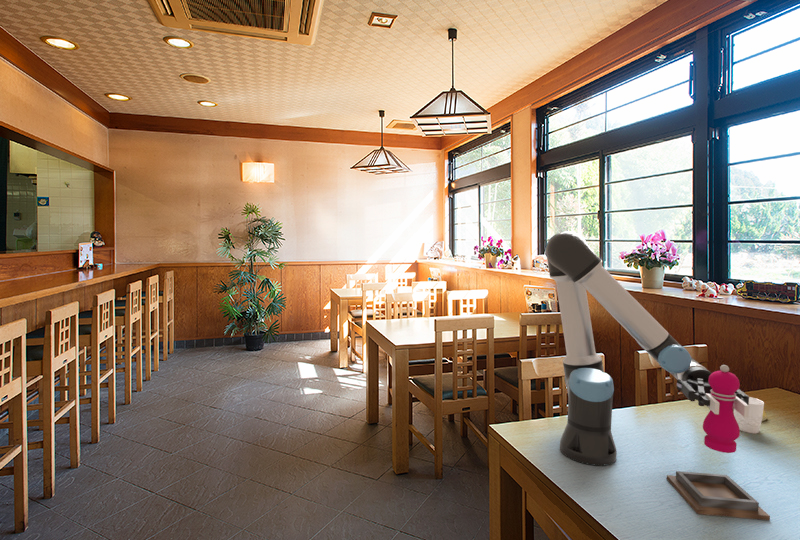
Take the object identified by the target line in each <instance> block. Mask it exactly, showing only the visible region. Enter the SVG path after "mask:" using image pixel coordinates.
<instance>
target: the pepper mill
mask: <svg viewBox="0 0 800 540" xmlns="http://www.w3.org/2000/svg"><path fill="white" fill-rule="evenodd" d="M729 371H730V367H729V366H728V365H726V364H721V366H719V370H716V371H712V372H711V373H712V374H711V375H710V376H709V380H708V382H709V385H710V386H711V387H712V389H711V390H710V392H711V394H710V395H711V396H712V397H713V398H715V399H716V400H717V401H718V402H719V414H714V413H713V412H712V411H711V410H710V409H709V411H708V413H707V414H706V416H705V418H704V420H703V423H702V429H703V431H704V433H705V434H706V435H704V437H703V443H704V445H705V446H706V448H708V449H711V450H713V451H717V452H720V453H723V454H731V453H735V452H737V442H736V440H738V438H739V437H740V436H741V431H740V429H739V425H738V423H737V421H736V419H735V416H734V408H733V402H734V401H735V400H736V393H735V392H736V391H737V390H738V389H739V390H740V386H741V385H740V379H739V378H738V377H737V376H736V374H735V373H732V372H729Z"/></svg>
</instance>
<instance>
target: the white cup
mask: <svg viewBox="0 0 800 540" xmlns="http://www.w3.org/2000/svg"><path fill="white" fill-rule="evenodd" d="M764 407H765V402H764V401H763V400H761V399H758V398H755V397H752V396H749V414H748V418H747V417H743V416H742V415H741V414H740V413H739V412H738V411H737V410H735V409H734V408H733V413H734V416H735V419H736V421H737V423H738V425H739V429H740V432H744V433H748V434H759V433H760V432H761V430H760V429H761V425H762V422H763V421H762V415H763V410H764Z"/></svg>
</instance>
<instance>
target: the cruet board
mask: <svg viewBox="0 0 800 540" xmlns="http://www.w3.org/2000/svg"><path fill="white" fill-rule="evenodd" d="M675 471H676V472H675V475H672V474H666V480H667V481H668V482H669V483H670V484H671V486H672V487H673V488H674V489H675V491H677V493H679V495H680V496H681V497H682V498H683V500H685V502H686V503H687V504H688V505H689V506H690V507H691V508H692V509H693V511H694V512H695V513H696V514H697V515H705V516H707V515H708V516H715V517H716V516H718V517H726V518H727V517H728V518H729V517H730V518H738V519H739V518H741V519H752V520H764V521H770V520H771V519H770V518H771V516H770V514H768V513H767V512H766V511H765V510H764V509H763V508H761V506H759V504H760V502H758V501H757V500H756V499H755V498H754V497H753V496H752V495H750V493H748V492H747V491H746V490H745V489H744V488H743V487H742V486H740V485H739V484H738V483H737V482H735V481H734V479H732V478H731V477H730V476H729V475H728V474H720V473H705V472H694V471H693V472H690V471H682V470H681V471H679V470H675Z"/></svg>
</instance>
